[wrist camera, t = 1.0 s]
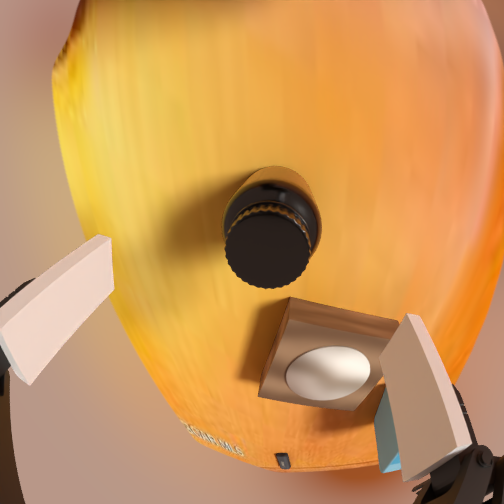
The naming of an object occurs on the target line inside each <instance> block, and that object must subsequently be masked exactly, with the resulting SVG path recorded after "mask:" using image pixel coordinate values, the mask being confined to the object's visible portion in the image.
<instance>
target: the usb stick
mask: <svg viewBox="0 0 504 504" xmlns="http://www.w3.org/2000/svg"><path fill="white" fill-rule="evenodd" d="M276 456H277V459H278V462H279V464H280V467H281V468H282V469H290V467H291V465H290V461H289V457H288V454H287V453H277V454H276Z"/></svg>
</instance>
